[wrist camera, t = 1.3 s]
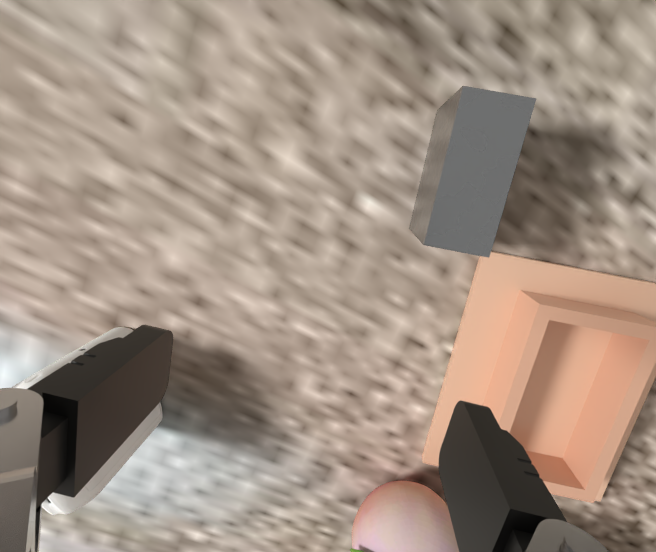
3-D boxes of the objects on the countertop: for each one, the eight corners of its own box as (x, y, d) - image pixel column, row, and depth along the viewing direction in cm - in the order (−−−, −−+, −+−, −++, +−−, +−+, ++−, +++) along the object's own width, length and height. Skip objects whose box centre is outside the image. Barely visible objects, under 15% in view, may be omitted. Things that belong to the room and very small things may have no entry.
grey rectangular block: (436, 110, 29) (463, 85, 21) (490, 120, 29) (536, 98, 21) (409, 228, 31) (423, 245, 24) (458, 238, 31) (489, 257, 24)
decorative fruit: (459, 460, 36) (493, 564, 26) (442, 531, 38) (468, 651, 28) (358, 444, 37) (355, 540, 27) (347, 515, 39) (341, 626, 29)
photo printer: (97, 328, 36) (-34, 402, 24) (140, 321, 36) (27, 394, 24) (130, 424, 38) (24, 535, 27) (170, 420, 38) (81, 531, 26)
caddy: (421, 456, 36) (429, 493, 32) (481, 249, 31) (500, 260, 27) (595, 494, 36) (626, 537, 31) (685, 288, 30) (737, 306, 26)
